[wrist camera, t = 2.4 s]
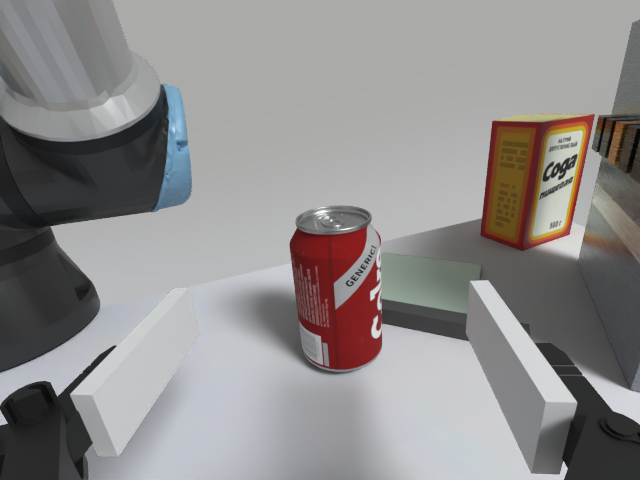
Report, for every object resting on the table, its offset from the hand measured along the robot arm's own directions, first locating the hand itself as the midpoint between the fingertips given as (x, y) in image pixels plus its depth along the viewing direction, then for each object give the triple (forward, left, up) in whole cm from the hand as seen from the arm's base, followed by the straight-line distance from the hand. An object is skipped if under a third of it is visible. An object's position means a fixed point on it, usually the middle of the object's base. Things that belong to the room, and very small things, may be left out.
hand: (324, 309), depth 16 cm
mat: (0, +22, -11) cm, 25 cm away
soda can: (-4, +9, -11) cm, 15 cm away
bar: (0, +15, -11) cm, 19 cm away
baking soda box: (+11, +40, -11) cm, 43 cm away
